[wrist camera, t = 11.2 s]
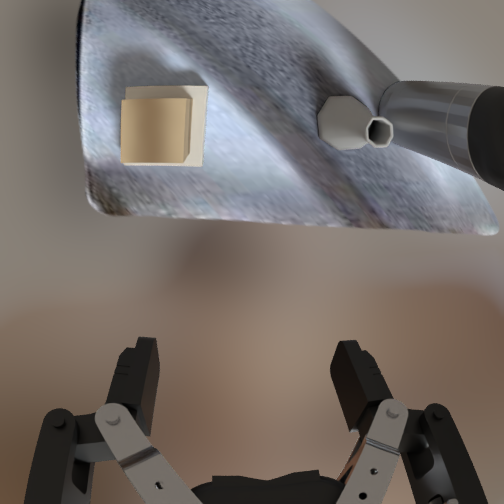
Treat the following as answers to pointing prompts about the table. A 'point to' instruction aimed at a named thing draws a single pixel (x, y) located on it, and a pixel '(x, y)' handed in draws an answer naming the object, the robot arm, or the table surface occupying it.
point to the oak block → (156, 130)
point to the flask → (352, 125)
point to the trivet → (198, 116)
